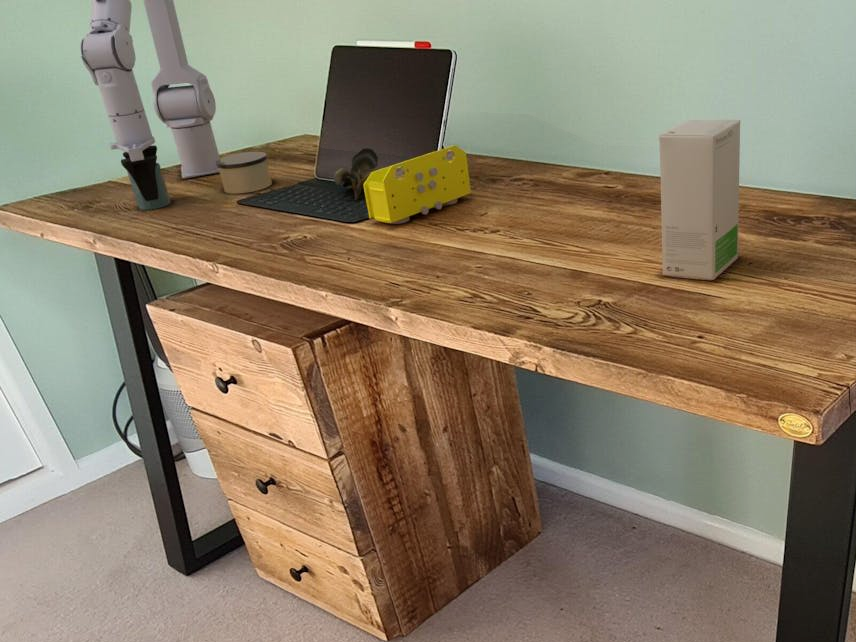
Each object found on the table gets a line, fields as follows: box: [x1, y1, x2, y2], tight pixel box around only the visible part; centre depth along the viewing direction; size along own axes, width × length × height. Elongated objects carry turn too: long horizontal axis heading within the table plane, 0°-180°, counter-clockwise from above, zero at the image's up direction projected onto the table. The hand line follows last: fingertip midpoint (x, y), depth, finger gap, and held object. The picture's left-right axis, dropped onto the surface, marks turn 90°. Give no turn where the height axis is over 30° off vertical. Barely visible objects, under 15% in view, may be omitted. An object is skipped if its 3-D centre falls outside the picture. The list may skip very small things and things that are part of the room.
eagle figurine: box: [333, 147, 379, 201], centre depth 146 cm, size 8×7×9 cm
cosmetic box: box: [658, 119, 741, 281], centre depth 99 cm, size 8×7×16 cm
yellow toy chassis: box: [363, 144, 472, 225], centre depth 133 cm, size 16×6×8 cm, turn 137°
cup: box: [126, 162, 172, 211], centre depth 153 cm, size 5×5×6 cm
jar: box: [216, 151, 273, 195], centre depth 158 cm, size 9×9×5 cm
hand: (152, 195), depth 154 cm, fingers closed on cup, 5 cm apart
